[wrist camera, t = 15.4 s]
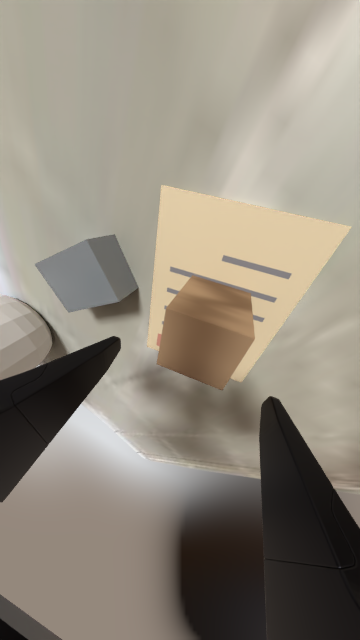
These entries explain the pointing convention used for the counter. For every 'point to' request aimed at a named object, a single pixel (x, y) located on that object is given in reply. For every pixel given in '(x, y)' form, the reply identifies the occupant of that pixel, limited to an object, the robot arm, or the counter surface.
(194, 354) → the walnut cube
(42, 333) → the soap bottle
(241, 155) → the counter surface
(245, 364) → the letter
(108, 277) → the paperweight
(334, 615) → the robot arm
